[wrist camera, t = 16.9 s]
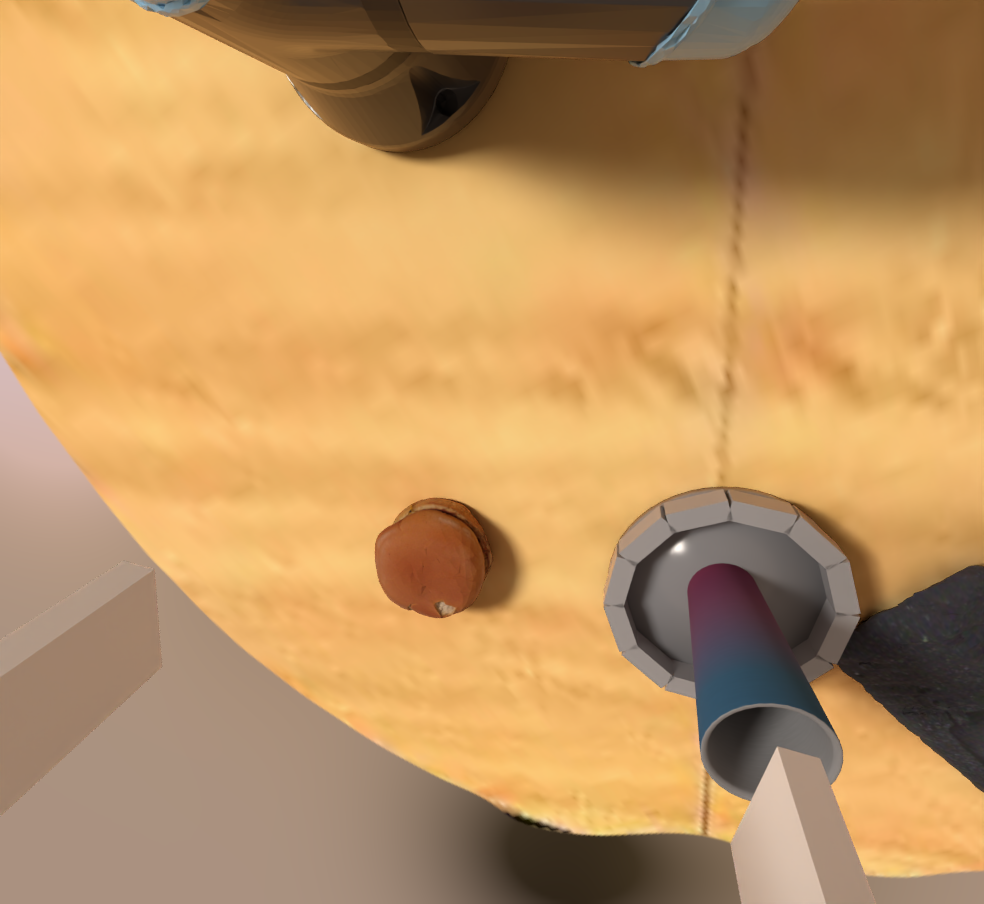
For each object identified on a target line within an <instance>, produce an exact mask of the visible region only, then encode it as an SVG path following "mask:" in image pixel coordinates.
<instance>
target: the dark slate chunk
mask: <svg viewBox="0 0 984 904" xmlns="http://www.w3.org/2000/svg"><path fill="white" fill-rule="evenodd" d="M837 665H839V667H840V668H841V670H842V671H843V672H844V673H846V674H847V675H849V676H850V677H852V678H853V679H855V680H856V681H858V682H859V683H861V684H862V685H863V686H864V688H865V690H866V691H867V692H868V693H870V694H871V695H872V696H873V698H874V699H875V700H876V701H878V702H879V703H881V704H882V705H883V706H884V707H885V708H886V710H887V711H889V712H890V713H891V714H892V715H893V716H894V717H895V718H896V719H897V720H898V721H899V722H900V723H901V724H903V725H905V727H906V728H907V729H908V730H909V731H911V732H912V733H914V734H915V735H917V736H919V737H920V739H921V740H922V742H924V743H925V744H926V745H928V746H929V747H930V748H931V749H932V750H933V751H934V752H936V753H937V754H939V755H940V756H941V757H943V758H944V759H945V760H946V761H947V762H948V763H949V764H951V765H952V766H953V767H954V768H956V769H957V770H958V771H960V772H961V773H962V775H963V776H965V777H966V778H967V779H969V780H970V781H971V782H972V783H973V784H974V785H975V787H977V788H978V789H979V790H981V791H983V792H984V567H982V566H969V567H967V568H965V569H963V570H961V571H959V572H957V573H955V574H954V575H952V576H950V577H948V578H946V579H945V580H943V581H941V582H939V583H936V584H934V585H932V586H930V587H929V588H927V589H925V590H923V591H920V592H917V593H914V595H913V596H912V597H910V598H907V599H906V600H904V601H903V602H902V603H900V604H898V606H896V607H894V608H892V609H889V610H884V611H881V612H879V613H877V614H875V615H873V616H871V617H870V618H869V619H868V620H867V621H865V622H863V623H862V624H860V625H859V626H858V627H857V628H855V629H854V631H853V633H852V635H851V637H850V639H849V641H848V643H847V645H846V647H845V649H844V651H843V653H842V655H841V657H840V659H839V661H838V663H837Z"/></svg>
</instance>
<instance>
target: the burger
mask: <svg viewBox="0 0 984 904" xmlns="http://www.w3.org/2000/svg"><path fill="white" fill-rule="evenodd" d="M492 561H493V557H492V553H491V551H490V544H489V543H488V541H487V537H486V535H485V534H484V532H483V528H482V527H481V526H480V524H479V523H478V521H477V520H476V518H475V517H474V516H473V515H472V514H471V511H470V510H468V508H467V507H465V506H464V505H462V504H460V503H457V502H454V501H450V500H448V499H441V498H429V499H426V500H421V501H418V502H416V503H413V504H411V505H410V506H408V507H407V508H406V509H404V510H403V511H402V512H401V513H400V514H399V515H398V516H397V518H396V519H395V521H394V523H393V525H392V526H389V527H387V528H386V529H384V530H383V531H382V532H381V533H380V534H379V535H378V538H377V540H376V544H375V562H376V569H377V575H378V578H379V582H380V584H381V586H382V588H383V590H384V592H385V594H386V595H387V596H388V598H389V599H390V600H391V601H392V602H394V603H396V604H397V605H399V606H400V607H402V608H404V609H407V610H414V611H416V612H417V613H419V614H422V615H425V616H429V617H433V618H444V617H448V616H451V615H453V614H456V613H459V612H462V611H463V610H465V609H466V608H468V607H469V606H471V605H472V604H473V602H474V601H475V600H476V598H477V597H478V595H479V593H480V591H481V588H482V583H483V581H484V580H485V578H486V576H487V574H488V572H489V570H490V567H491V564H492Z"/></svg>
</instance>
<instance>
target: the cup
mask: <svg viewBox="0 0 984 904" xmlns="http://www.w3.org/2000/svg"><path fill="white" fill-rule="evenodd" d="M687 595H688V607H689V619H690V632H691V644H692V656H693V668H694V681H695V693H696V705H697V717H698V730H699V742H700V752H701V760H702V762H703V765H704V767H705V769H706V771H707V772H708V774H709V775H710V776H711V778H712V779H713V780H714V781H715V782H716V783H717V784H718V785H719V786H721V787H722V788H724V789H725V790H727V791H728V792H730V793H731V794H734V795H736V796H738V797H740V798H742V799H746V800H749V801H751V800H752V797H753V795H754V793H755V791H756V789H757V787H758V785H759V783H760V781H761V779H762V777H763V775H764V773H765V770H766V768H767V766H768V764H769V762H770V760H771V758H772V756H773V754H774V752H775V750H776V748H777V746H778V747H782V748H785V749H789V750H792V751H796V752H799V753H803V754H806V755H810V756H813V757H817V758H820V759H821V762H822V765H823V767H824V770H825V772H826V775H827V777H828V780H829V783H830V785H831V784H832V783H833V782H834V781H835V780H836V778H837V777H838V775H839V773H840V771H841V768H842V764H843V750H842V747H841V744H840V741H839V739H838V737H837V735H836V733H835V731H834V729H833V727H832V725H831V724H830V722H829V720H828V718H827V716H826V714H825V712H824V710H823V708H822V707H821V705H820V703H819V701H818V699H817V697H816V695H815V693H814V691H813V690H812V688H811V686H810V684H809V682H808V680H807V678H806V676H805V674H804V673H803V671H802V669H801V667H800V665H799V663H798V661H797V659H796V657H795V656H794V654H793V652H792V650H791V648H790V646H789V644H788V642H787V641H786V639H785V637H784V635H783V633H782V631H781V629H780V627H779V625H778V624H777V622H776V620H775V618H774V616H773V614H772V612H771V610H770V608H769V607H768V605H767V603H766V601H765V599H764V597H763V595H762V593H761V591H760V590H759V588H758V586H757V584H756V582H755V580H754V579H753V577H752V576H751V575H750V574H749V573H748V572H747V571H745V570H744V569H743V568H740V567H738V566H736V565H732V564H725V563H719V564H712V565H708V566H706V567H704V568H702V569H700V570H699V571H698V572H696V573H695V574H694V575H693V577H692V578H691V580H690V582H689V584H688V589H687Z"/></svg>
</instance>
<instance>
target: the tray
mask: <svg viewBox="0 0 984 904" xmlns="http://www.w3.org/2000/svg"><path fill="white" fill-rule="evenodd" d="M719 563H725V564H732V565H736V566H738V567H740V568H743V569H744V570H745V571H747V572H748V573H749V574H750V575H751V576H752V577H753V579H754V580H755V582H756V584H757V586H758V588H759V590H760V591H761V593H762V595H763V597H764V599H765V601H766V603H767V605H768V607H769V608H770V610H771V612H772V614H773V616H774V618H775V620H776V622H777V624H778V625H779V627H780V629H781V631H782V633H783V635H784V637H785V639H786V641H787V642H788V644H789V646H790V648H791V650H792V652H793V654H794V656H795V657H796V659H797V661H798V663H799V665H800V667H801V669H802V671H803V673H804V674H805V676H806V678H807V680H808V682H809V683H810V682H811V681H813V680H815V679H816V678H818V677H819V676H821V675H823V674H824V673H826V672H828V671H829V670H831V669H832V668H834V667H833V665H832V663H833V664H837V663H838V661H839V659H840V657H841V655H842V653H843V651H844V649H845V647H846V645H847V643H848V641H849V639H850V637H851V635H852V633H853V631H854V629H855V627H856V625H857V623H858V621H859V619H860V617H859V615H858V614H861V612H860V608H859V603H858V598H857V594H856V589H855V585H854V580H853V575H852V571H851V566H850V562H849V560H848V559H847V557H846V555H845V554H844V553H843V551H842V550H841V549H840V547H839V546H838V544H837V543H836V542H835V541H834V540H832V539H831V538H830V537H829V536H828V535H827V534H826V533H825V532H824V531H823V530H822V529H821V528H820V527H819V526H818V525H817V524H816V523H815V522H814V520H813V519H812V518H810V517H809V516H808V515H807V514H805V513H804V512H803V511H801V510H800V509H799V508H797V507H795V506H794V505H792V504H790V503H788V502H787V501H785V500H782V499H780V498H778V497H775V496H773V495H771V494H767V493H764V492H760V491H757V490H752V489H745V488H739V487H710V488H702V489H697V490H691V491H688V492H685V493H681V494H678V495H675V496H673V497H670V498H668V499H666V500H664V501H662V502H660V503H658V504H656V505H655V506H653V507H651V508H650V509H648V510H647V511H646V512H644V513H643V514H642V515H640V516H639V517H638V518H637V519H636V520H635V521H634V522H633V523H632V524H631V525H630V526H629V527H628V529H627V530H626V531H625V533H624V534H623V535H622V537H621V538H620V540H619V542H618V544H617V545H616V547H615V549H614V552H613V555H612V558H611V561H610V566H609V571H608V577H607V581H606V584H605V588H604V610H605V612H606V615H607V618H608V621H609V624H610V626H611V629H612V632H613V635H614V638H615V641H616V643H617V646H618V649H619V652H621V651H622V656H624V657H625V658H626V659H627V660H628V661H630V662H631V663H632V664H633V665H634V666H635V667H637V668H638V669H639V670H640V671H641V672H643V673H644V674H645V675H646V676H647V677H648V678H650V679H651V680H652V681H653V682H654V683H656V684H657V685H658V686H659V687H660V688H662V687H664V686H665V690H666V691H670V692H673V693H677V694H680V695H684V696H688V697H691V698H695V699H696V693H695V681H694V668H693V656H692V644H691V632H690V619H689V607H688V595H687V589H688V584H689V582H690V580H691V578H692V577H693V575H694V574H695V573H696V572H698V571H699V570H700V569H702V568H704V567H706V566H708V565H712V564H719Z"/></svg>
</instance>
